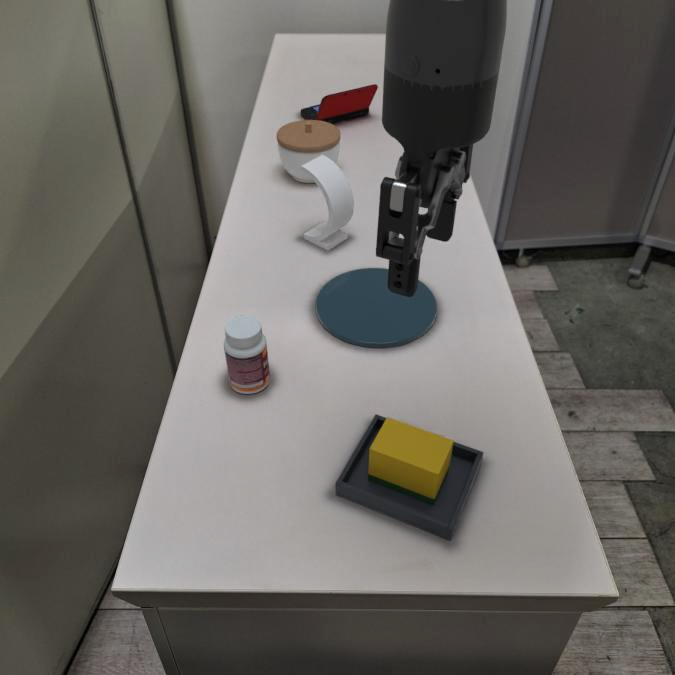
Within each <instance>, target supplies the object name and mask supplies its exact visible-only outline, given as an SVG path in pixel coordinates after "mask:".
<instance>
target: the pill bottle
mask: <svg viewBox="0 0 675 675" xmlns="http://www.w3.org/2000/svg"><path fill="white" fill-rule="evenodd" d="M224 335H225V338H224V341H223V351H224V356H225V357H224V358H225V362H226V369H227V374H228V375H227V376H228V380H229V385H230V388H232V389H233V390H234V391H235V392H237V393H240V394H242V395H243V394H244V395H251V394H257V393H259V392H261V391H263V390H264V389H265V388H266V387H267V386H268V385H269V383H270V380H271V374H270V365H269V355H268V354H269V352H268V343H267V338H266V336H265V334H264V333H263V326H262V323H261V321H260V320H259V319H258V318H256V317H255V316H252V315H238V316H234V317H233V318H231V319H229V320H228V321H227V322H226V323H225V325H224Z"/></svg>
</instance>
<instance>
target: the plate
mask: <svg viewBox="0 0 675 675" xmlns="http://www.w3.org/2000/svg"><path fill="white" fill-rule="evenodd" d="M388 270H389V268H384V267H366V268H365V267H364V268H358V269H352V270H348V271H345V272H343V273H341V274H338V275H337V276H334V277H333V278H331V279H329V281H328V282H326V283H325V284H324V285H323V286H322V287H321V289H320V290H319V292H318V294H317V295H316V300H315V311H316V312H315V313H316V316H317V319H318V321H319V323H320V324H321V326H322V327H323V328H324V329H325V330H326V331H327V332H328V333H330V334H331V335H332V336H334V337H335V338H337V339H339V340H341V341H343V342H346V343H347V344H351V345H354V346H358V347H364V348H374V349H385V348H394V347H398V346H403V345H406V344H409V343H411V342H414V341H416V340H417V339H419V338H421V337H422V336H423V335H425V334H426V333H427V332H429V330H430V329H431V328H432V326H433V325H434V323H435V321H436V318H437V314H438V313H437V312H438V311H437V310H438V303H437V300H436V297H435V295H434V293H433V292H432V290H431V289H430V288H429V287H428V286H427V285H426V284H425V283H424V282H423V281H421V280H419V279H418V288H417V291H416V292H415V294H414V295H413V296H412V297H407V296H403V295H400V294H396V293H393V292H391V291H390V290H389V289H388Z"/></svg>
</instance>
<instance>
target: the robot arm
mask: <svg viewBox="0 0 675 675" xmlns="http://www.w3.org/2000/svg"><path fill="white" fill-rule="evenodd" d="M507 11H508V0H389V3H388V8H387V16H386V25H385V41H384V42H385V44H384V62H383V63H384V64H383V87H382V106H381V108H382V109H381V123H382V127H383V129H384V130H385V132H386V133H387V135H389V136H390V137H392V138H393V139H394V140H396V141H397V142H398V143H399V144H400V145H401V147H402V148H403V153H402V155H400V156H399V158H398V160H397V164H396V168H395V172H394V176H395V177H388V176H385V177H383V179H382V181H381V183H380V184H379V188H380V189H379V201H378V202H379V203H378V217H377V230H376V231H377V232H376V245H375V256H376V257H377V258H380V259H385V260H388V269H389V270H388V289H389V290H390V291H391V292H393V293H396V294H400V295H403V296H407V297H412V296H413V295H414V294H415V292H416V291H417V288H418V280H419V278H420V277H419V276H420V268H421V257H422V253H423V249H424V248H423V247H424V244H425V240H426V237H427V238H429V239H431V240H435V241H439V242H444V243H447V242H450V240H451V238H452V236H453V233H454V227H455V219H456V212H457V204H458V201H459V200H460V198H461V196H462V195H463V184H467V182H468V181H469V179H470V177H471V166H472V157H473V151H474V150H473V149H474V145H475V144H476V143H478V142H480V141H481V140H483V139H484V138H485V137H486V135H487V134H488V133H489V131H490V128H491V126H492V119H493V112H494V107H495V99H496V92H497V88H498V80H499V75H500V68H501V61H502V55H503V49H504V43H505V37H506V28H507V14H508V12H507ZM420 208H421V209H422V208H423V209H427V212H426V213H423V214H421V213H419V212H420ZM400 235H401V236H402V237H400Z"/></svg>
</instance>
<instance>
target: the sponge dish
mask: <svg viewBox="0 0 675 675" xmlns="http://www.w3.org/2000/svg"><path fill="white" fill-rule="evenodd" d="M386 418H387V417H385V416H383V415H379V414H377V413H376V414H375V415H374V416H373V418H372V420H371V421H370V423H369V425H368V427H367V428H366V429H365V431H364V434H363V435H362V436H361V438H360V440H359V442H358V443H357V445H356V447H355V449H354V450H353V452H352V454H351V456H350V457H349V459H348V460H347V462H346V464H345V465H344V468H343V469H342V470H341V473H340V475H339V476H338V477H337V479H336V481H335V495H336V496H339V497H341V498H343V499H347V500H349V501H350V502H353V503H356V504H359V505H361V506H364V507H366V508H368V509H371V510H373V511H376V512H378V513H381V514H383V515H385V516H388V517H391V518H393V519H395V520H398V521H399V522H403V523H406V524H407V525H410V526H413V527H415V528H418V529H420V530H423V531H425V532H428V533H431V534H433V535H435V536H438V537H440V538H443V539H446V540H447V541H452V538H453V536H454V534H455V531H456V528H457V526H458V523H459V521H460V518H461V516H462V513H463V511H464V508H465V505H466V503H467V500H468V498H469V495H470V492H471V490H472V487H473V486H474V482H475V480H476V477H477V475H478V472H479V470H480V468H481V465H482V461H483V456H484V451H481V450H479V449H477V448H474V447H471V446H468V445H465V444H461V443H459V442H456V441H454V443H453V448H452V454H451V459H450V465H449V471H448V474H447V476H446V478H445V481H444V483H443V485H442V487H441V490H440V492H439V494H438V497H437V499H436V501H435V504H434V505H431V504H428V503H426V502H423V501H421V500H418V499H416V498H413V497H410V496H408V495H405V494H403V493H400V492H398V491H395V490H392V489H390V488H387V487H385V486H382V485H380V484H377V483H374V482H372V481H369V480H368V470H369V450H370V447H371V445H372V443H373V442H374V440H375V438H376V436H377V434H378V433H379V431H380V429H381V427H382V426H383V424H384V422H385V420H386Z"/></svg>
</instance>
